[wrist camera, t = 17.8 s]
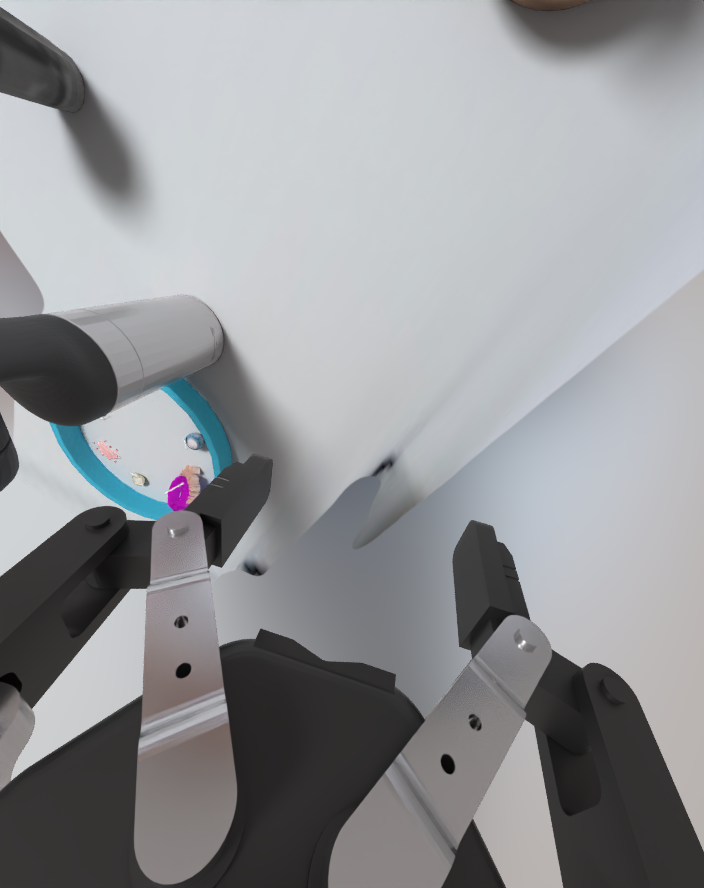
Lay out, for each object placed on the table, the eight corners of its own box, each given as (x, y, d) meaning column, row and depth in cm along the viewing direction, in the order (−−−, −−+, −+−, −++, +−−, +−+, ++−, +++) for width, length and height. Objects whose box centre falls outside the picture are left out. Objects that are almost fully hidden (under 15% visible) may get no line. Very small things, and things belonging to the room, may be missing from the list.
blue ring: (180, 530, 66) (160, 552, 61) (48, 424, 59) (12, 439, 54) (268, 455, 52) (251, 476, 47) (108, 303, 45) (67, 309, 40)
